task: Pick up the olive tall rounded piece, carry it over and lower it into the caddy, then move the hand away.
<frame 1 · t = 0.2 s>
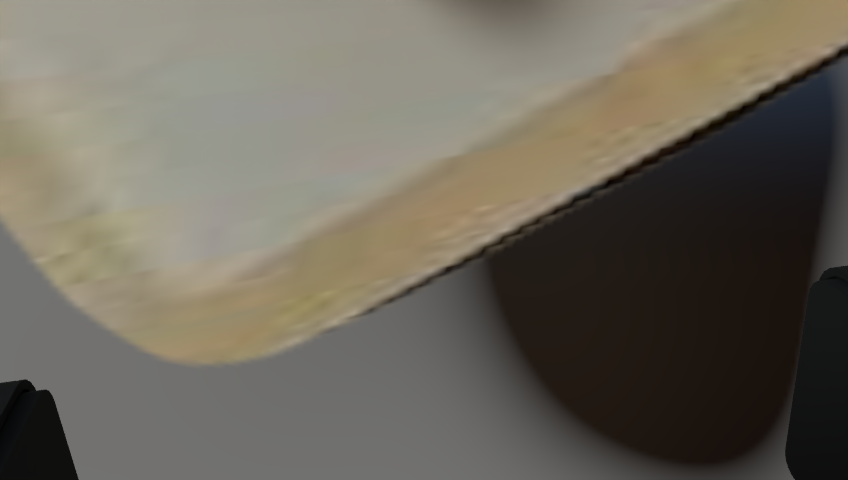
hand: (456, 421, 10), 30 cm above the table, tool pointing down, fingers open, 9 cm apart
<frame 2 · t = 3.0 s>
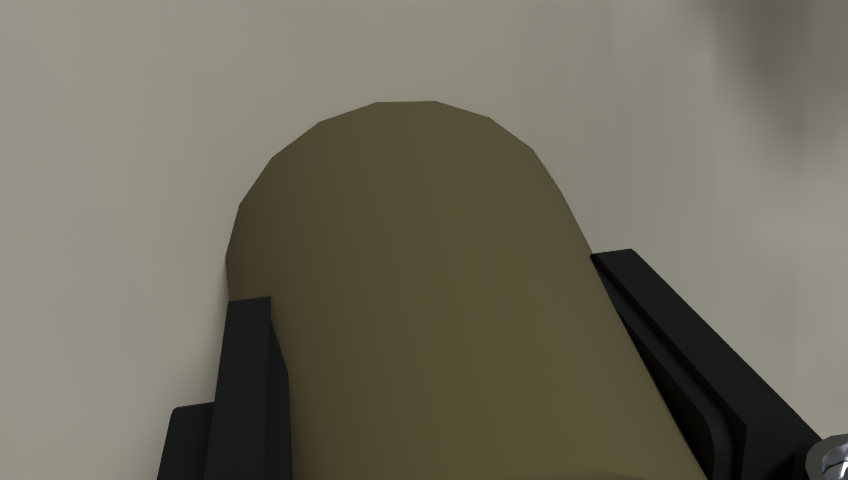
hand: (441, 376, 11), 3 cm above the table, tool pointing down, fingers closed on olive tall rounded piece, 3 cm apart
olive tall rounded piece: (403, 267, 14), on the table, touching gripper
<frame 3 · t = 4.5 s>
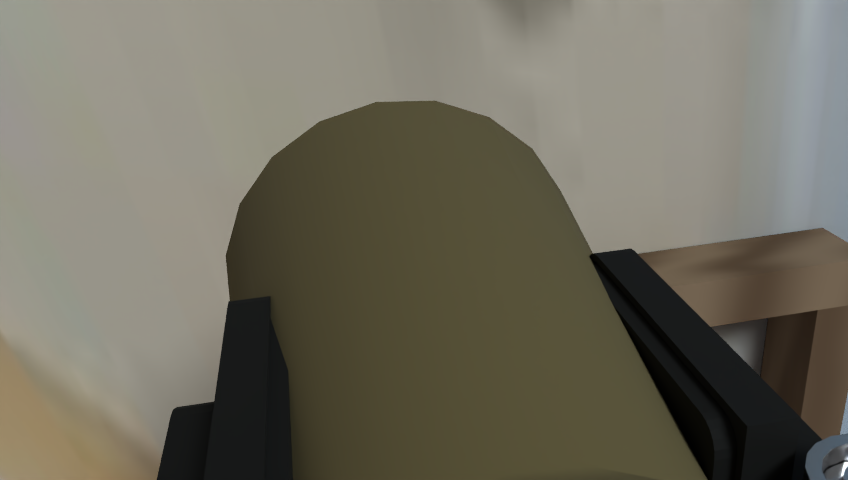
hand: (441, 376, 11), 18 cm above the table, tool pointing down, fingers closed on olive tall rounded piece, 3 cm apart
olive tall rounded piece: (403, 266, 14), point 15 cm above the table, touching gripper
caddy: (570, 388, 34), on the table
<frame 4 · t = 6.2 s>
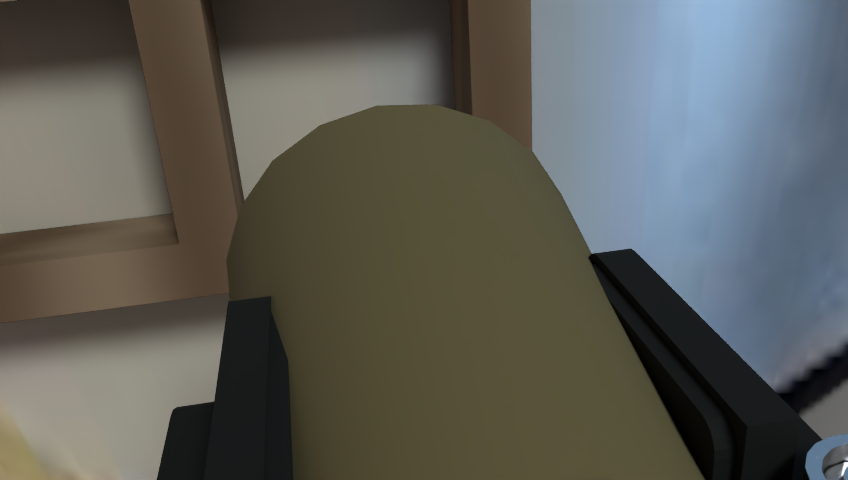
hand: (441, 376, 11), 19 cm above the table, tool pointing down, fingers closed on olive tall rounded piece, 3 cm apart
olive tall rounded piece: (403, 270, 14), point 15 cm above the table, touching gripper
caddy: (197, 100, 27), on the table
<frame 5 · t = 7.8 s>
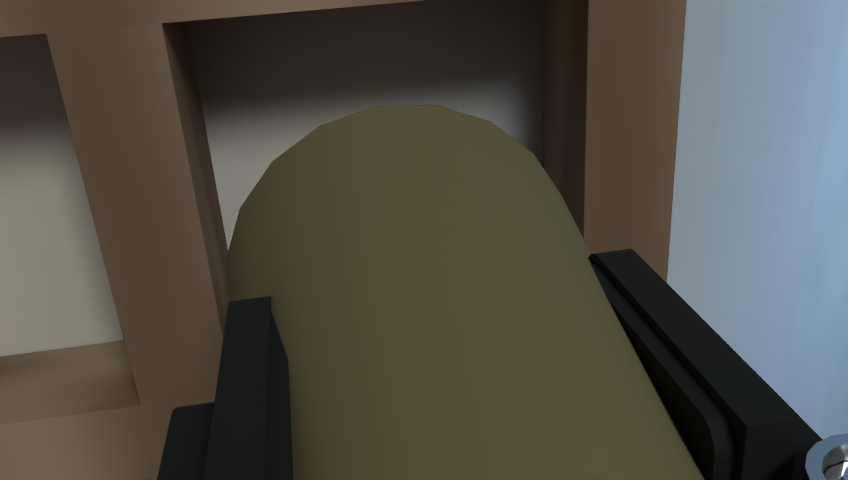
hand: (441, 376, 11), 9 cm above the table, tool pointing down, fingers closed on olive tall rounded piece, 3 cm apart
olive tall rounded piece: (403, 270, 14), point 6 cm above the table, touching gripper
caddy: (171, 183, 18), on the table
when the fingers open (5 cm above the table, at t = 9.3 s): olive tall rounded piece drops 2 cm, resting in caddy.
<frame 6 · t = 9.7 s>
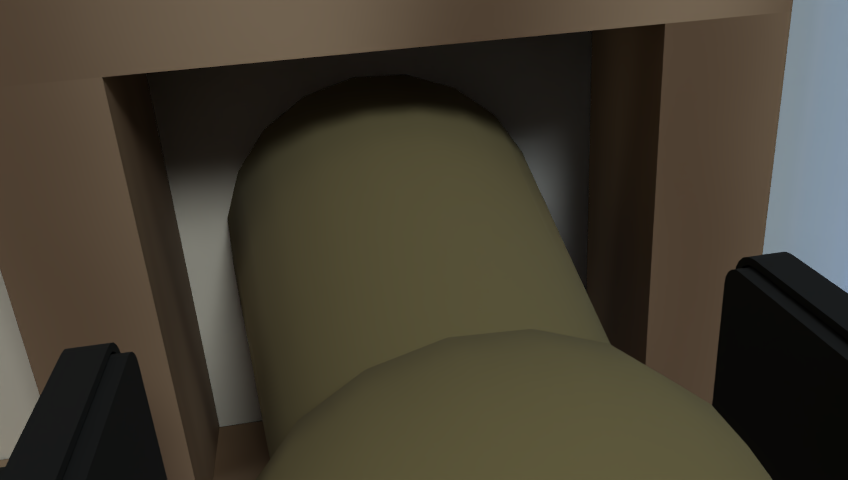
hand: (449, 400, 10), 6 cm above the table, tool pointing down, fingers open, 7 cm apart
olive tall rounded piece: (385, 224, 16), resting in caddy
caddy: (129, 261, 15), on the table
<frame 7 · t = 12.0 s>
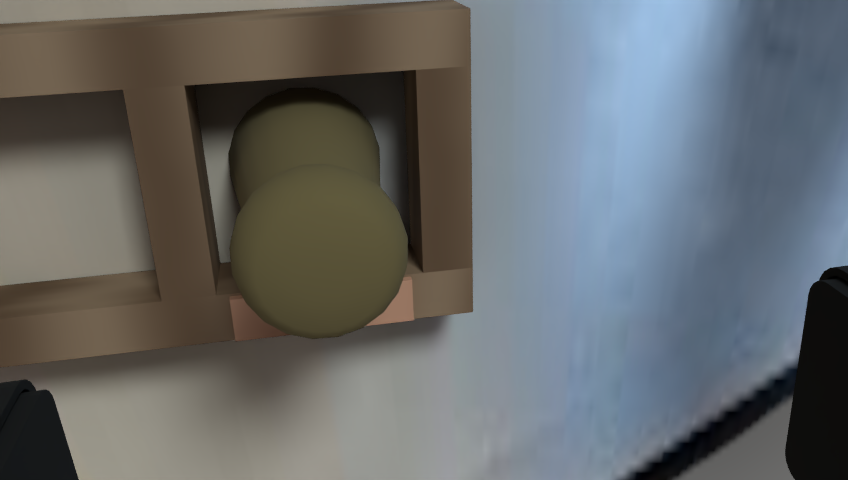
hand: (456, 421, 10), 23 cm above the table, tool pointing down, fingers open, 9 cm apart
olive tall rounded piece: (305, 160, 32), resting in caddy
caddy: (180, 173, 31), on the table
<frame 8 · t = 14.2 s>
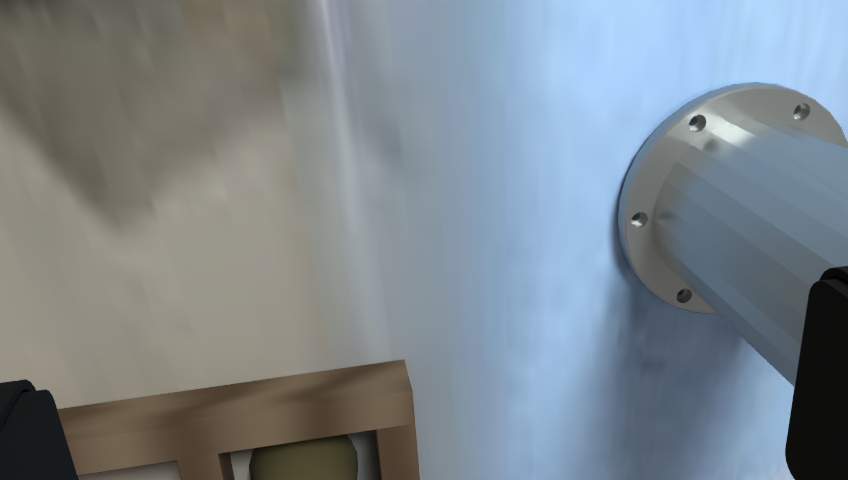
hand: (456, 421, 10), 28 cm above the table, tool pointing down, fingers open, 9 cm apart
olive tall rounded piece: (304, 463, 44), resting in caddy
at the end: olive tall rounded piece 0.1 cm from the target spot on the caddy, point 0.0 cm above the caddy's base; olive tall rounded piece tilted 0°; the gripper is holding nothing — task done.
